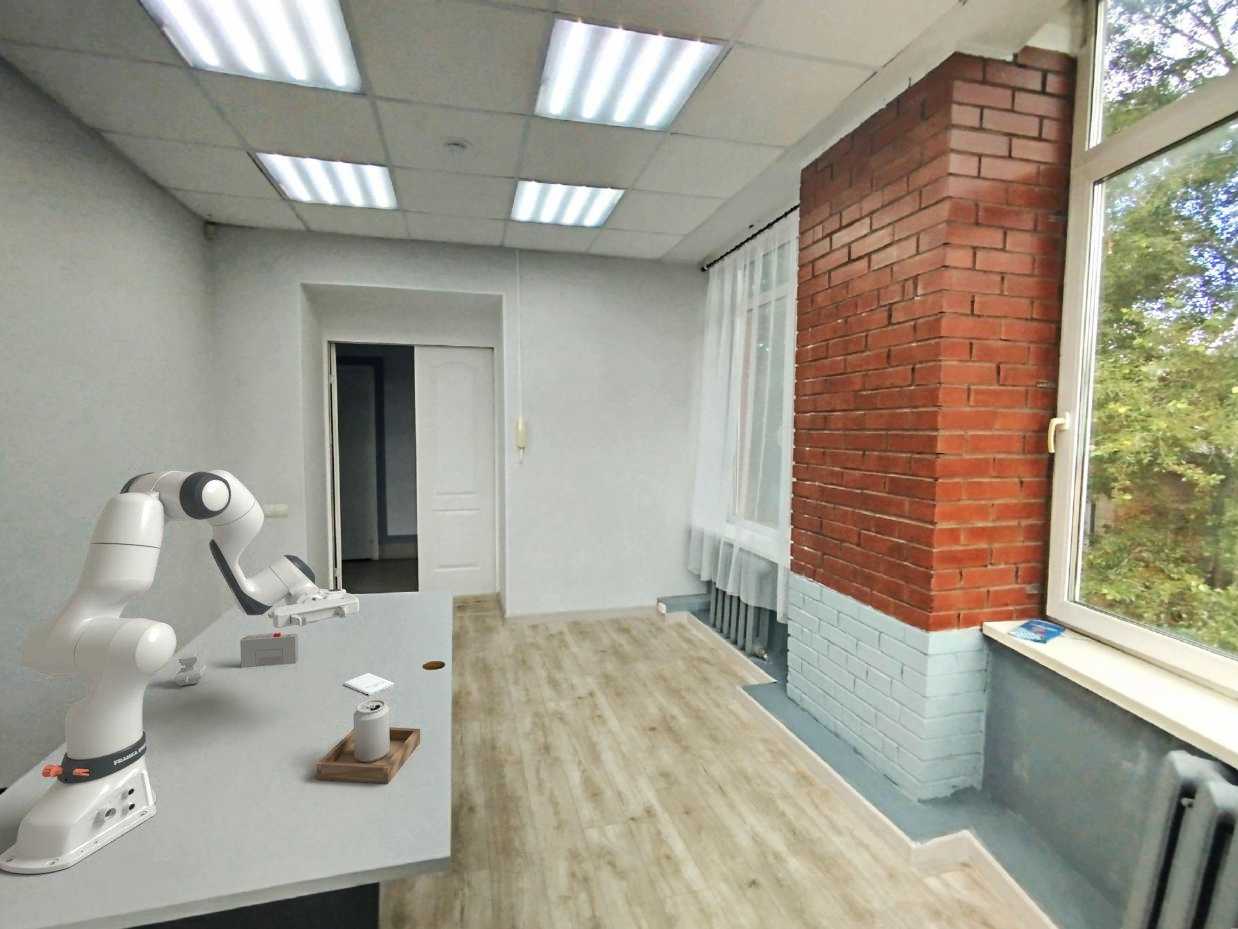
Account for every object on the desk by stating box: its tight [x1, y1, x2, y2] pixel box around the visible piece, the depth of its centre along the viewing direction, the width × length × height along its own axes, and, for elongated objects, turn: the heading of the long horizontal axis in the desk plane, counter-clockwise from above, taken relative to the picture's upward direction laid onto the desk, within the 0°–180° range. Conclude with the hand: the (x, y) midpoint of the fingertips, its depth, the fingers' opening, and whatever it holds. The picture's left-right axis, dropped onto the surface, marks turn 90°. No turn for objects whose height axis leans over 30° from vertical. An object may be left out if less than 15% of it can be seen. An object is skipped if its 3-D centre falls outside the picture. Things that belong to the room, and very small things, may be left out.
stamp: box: [173, 652, 208, 687], centre depth 168 cm, size 9×7×8 cm
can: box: [352, 698, 390, 763], centre depth 129 cm, size 8×8×12 cm
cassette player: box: [239, 632, 299, 669], centre depth 182 cm, size 16×3×10 cm, turn 104°
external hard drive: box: [343, 672, 395, 695], centre depth 167 cm, size 2×8×12 cm
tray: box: [316, 726, 421, 785], centre depth 129 cm, size 16×16×4 cm
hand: (323, 618), depth 143 cm, fingers open, 8 cm apart
